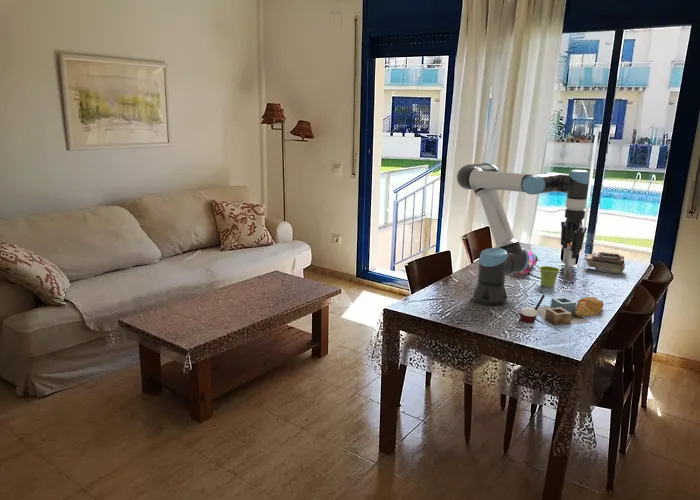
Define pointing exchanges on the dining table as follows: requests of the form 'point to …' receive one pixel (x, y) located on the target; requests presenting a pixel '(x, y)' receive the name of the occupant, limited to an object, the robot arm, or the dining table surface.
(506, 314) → the dining table surface
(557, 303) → the socket
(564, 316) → the mount
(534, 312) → the cocoa
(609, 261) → the olive toy tank
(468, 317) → the dining table surface
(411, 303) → the dining table surface
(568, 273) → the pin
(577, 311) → the croissant
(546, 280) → the plant pot
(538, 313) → the board
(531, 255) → the pencil case
